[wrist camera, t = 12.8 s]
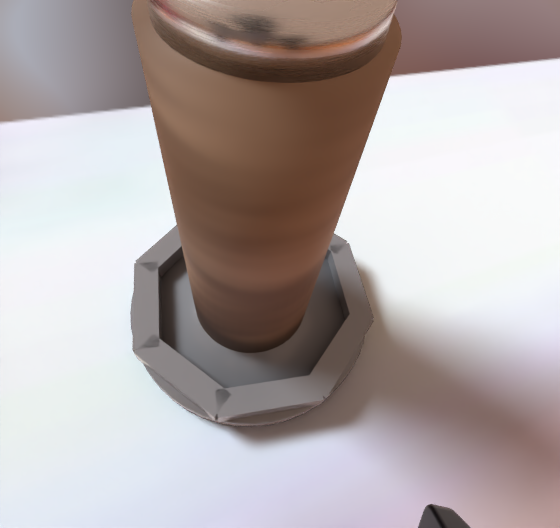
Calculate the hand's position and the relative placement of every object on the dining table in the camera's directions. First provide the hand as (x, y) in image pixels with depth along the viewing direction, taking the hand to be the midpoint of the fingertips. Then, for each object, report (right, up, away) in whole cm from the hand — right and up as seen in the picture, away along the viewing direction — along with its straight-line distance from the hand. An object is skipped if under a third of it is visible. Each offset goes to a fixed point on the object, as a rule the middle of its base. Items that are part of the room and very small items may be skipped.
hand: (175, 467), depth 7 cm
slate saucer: (+1, +2, +11) cm, 11 cm away
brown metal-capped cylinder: (+1, +2, +10) cm, 11 cm away
